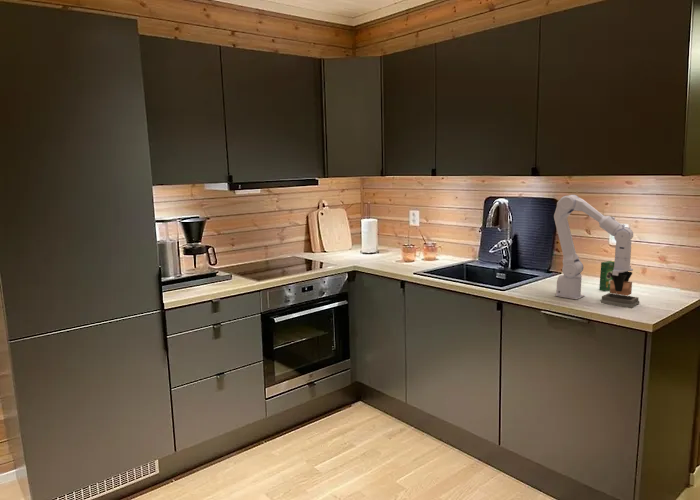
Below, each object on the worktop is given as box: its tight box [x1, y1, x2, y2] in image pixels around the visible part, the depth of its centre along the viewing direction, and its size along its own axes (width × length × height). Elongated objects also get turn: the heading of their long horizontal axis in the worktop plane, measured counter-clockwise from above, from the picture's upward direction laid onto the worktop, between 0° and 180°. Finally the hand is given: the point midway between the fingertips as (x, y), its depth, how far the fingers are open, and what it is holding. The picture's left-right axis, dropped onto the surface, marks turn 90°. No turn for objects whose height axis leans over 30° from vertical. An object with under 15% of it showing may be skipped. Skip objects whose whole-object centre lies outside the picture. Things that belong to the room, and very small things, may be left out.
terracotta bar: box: [609, 280, 633, 296], centre depth 217 cm, size 4×7×5 cm, turn 43°
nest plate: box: [599, 292, 640, 309], centre depth 218 cm, size 12×9×3 cm
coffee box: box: [598, 260, 615, 292], centre depth 240 cm, size 8×3×13 cm, turn 124°
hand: (620, 290), depth 217 cm, fingers closed on terracotta bar, 4 cm apart
